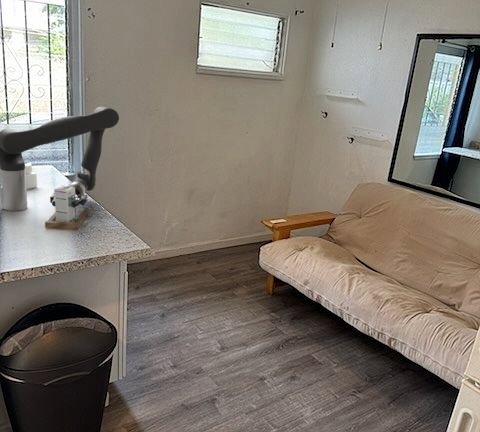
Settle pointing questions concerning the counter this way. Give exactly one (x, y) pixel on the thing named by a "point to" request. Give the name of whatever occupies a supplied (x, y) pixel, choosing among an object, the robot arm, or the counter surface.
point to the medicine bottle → (30, 176)
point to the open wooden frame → (68, 225)
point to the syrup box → (65, 204)
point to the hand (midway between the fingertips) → (63, 204)
